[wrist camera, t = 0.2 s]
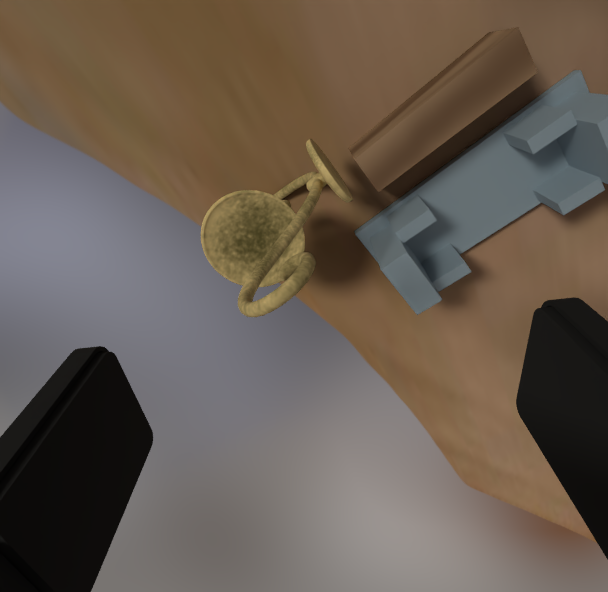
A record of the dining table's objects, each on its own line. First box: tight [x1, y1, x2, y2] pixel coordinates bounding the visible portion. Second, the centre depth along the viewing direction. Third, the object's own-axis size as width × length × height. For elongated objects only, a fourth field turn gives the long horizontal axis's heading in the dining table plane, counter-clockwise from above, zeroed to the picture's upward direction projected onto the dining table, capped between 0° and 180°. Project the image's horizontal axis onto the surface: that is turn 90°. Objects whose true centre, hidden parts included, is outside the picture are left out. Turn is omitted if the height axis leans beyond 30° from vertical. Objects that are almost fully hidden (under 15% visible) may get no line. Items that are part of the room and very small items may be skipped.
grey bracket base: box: [354, 70, 608, 315], centre depth 39 cm, size 10×26×9 cm, turn 130°
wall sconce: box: [201, 139, 353, 317], centre depth 33 cm, size 14×10×25 cm
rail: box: [349, 27, 538, 192], centre depth 37 cm, size 4×16×6 cm, turn 129°
